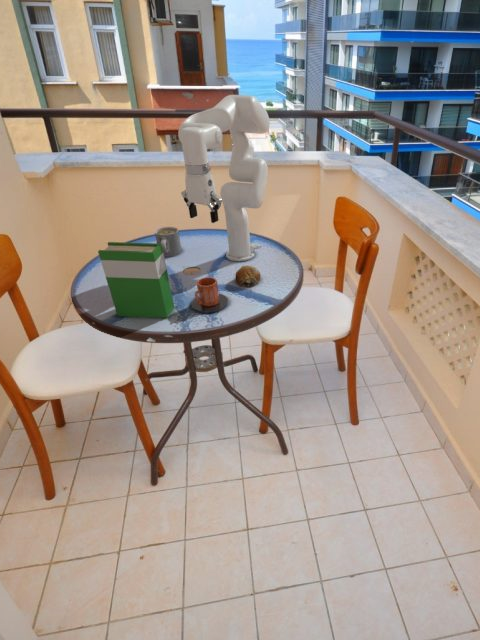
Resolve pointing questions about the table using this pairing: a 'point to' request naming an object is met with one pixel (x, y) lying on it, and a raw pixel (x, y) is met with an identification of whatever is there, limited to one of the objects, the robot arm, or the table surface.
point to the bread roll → (247, 276)
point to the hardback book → (137, 279)
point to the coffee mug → (169, 240)
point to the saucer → (211, 309)
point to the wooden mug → (207, 292)
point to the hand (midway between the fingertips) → (204, 219)
